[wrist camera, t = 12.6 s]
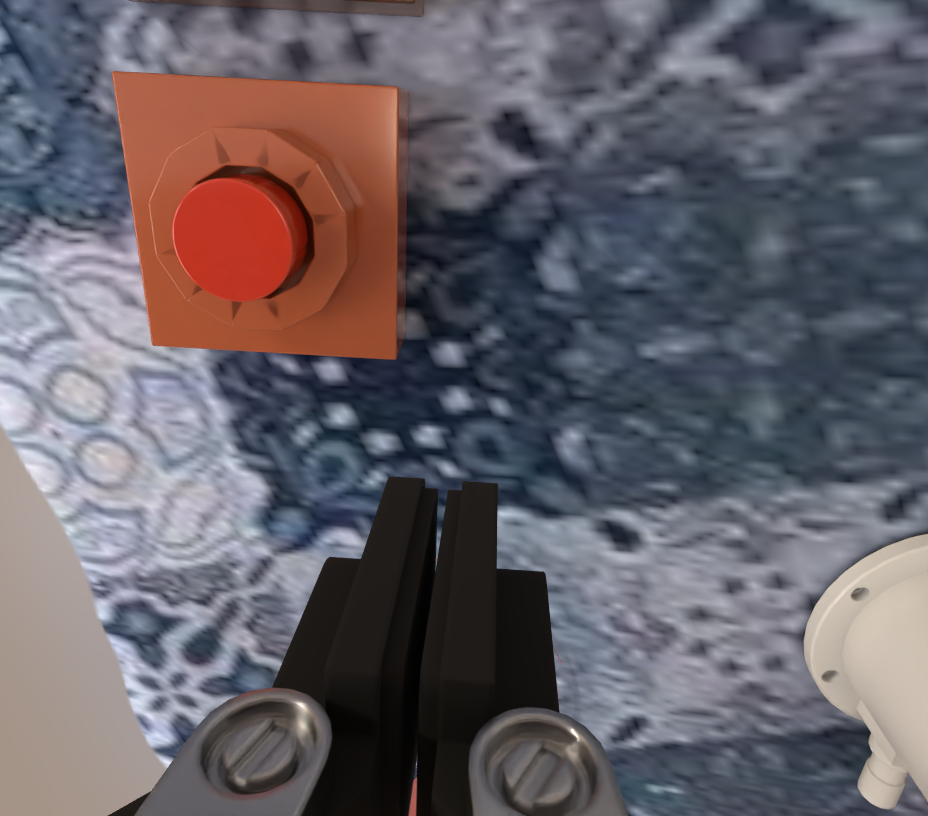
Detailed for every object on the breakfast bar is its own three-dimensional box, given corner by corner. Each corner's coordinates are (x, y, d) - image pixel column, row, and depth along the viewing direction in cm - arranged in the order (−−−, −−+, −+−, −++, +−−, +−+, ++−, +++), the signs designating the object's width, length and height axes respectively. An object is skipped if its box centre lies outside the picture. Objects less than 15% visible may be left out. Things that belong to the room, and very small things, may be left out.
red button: (311, 291, 24) (296, 306, 22) (202, 285, 24) (178, 299, 22) (305, 176, 22) (289, 181, 21) (190, 170, 22) (162, 174, 21)
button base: (405, 336, 29) (390, 376, 25) (184, 324, 30) (128, 361, 25) (409, 90, 25) (392, 83, 21) (153, 77, 26) (80, 66, 21)
